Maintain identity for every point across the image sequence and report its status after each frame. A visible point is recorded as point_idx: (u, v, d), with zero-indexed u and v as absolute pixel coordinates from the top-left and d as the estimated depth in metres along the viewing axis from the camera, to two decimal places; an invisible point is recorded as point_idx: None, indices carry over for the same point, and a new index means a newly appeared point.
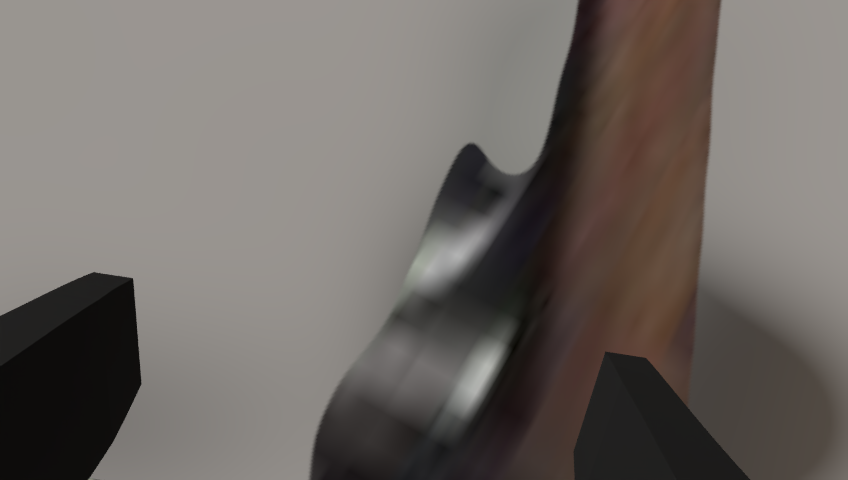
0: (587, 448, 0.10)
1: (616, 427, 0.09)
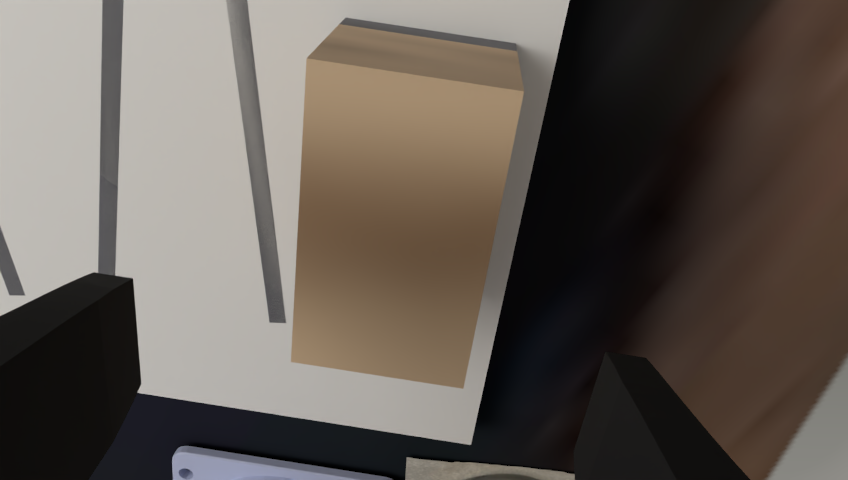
0: (587, 448, 0.10)
1: (616, 427, 0.09)
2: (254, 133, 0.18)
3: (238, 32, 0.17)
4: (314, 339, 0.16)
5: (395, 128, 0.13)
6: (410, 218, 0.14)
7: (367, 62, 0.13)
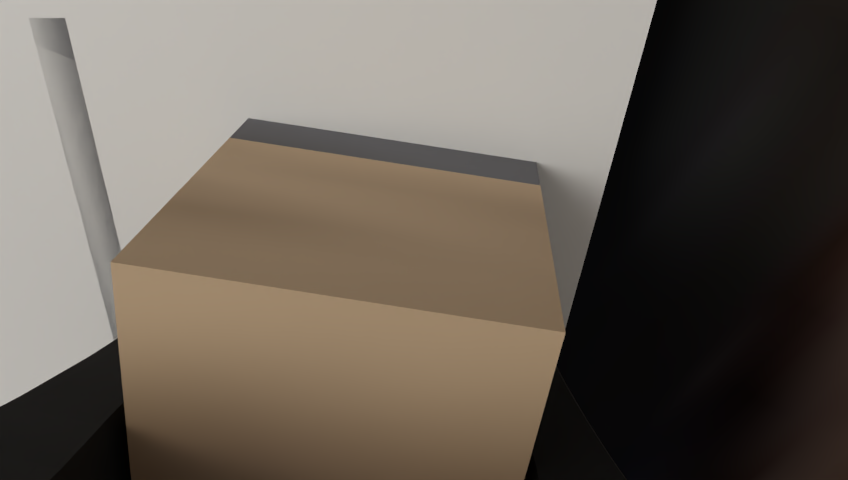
0: None
1: None
2: None
3: (73, 139, 0.10)
4: None
5: (304, 387, 0.07)
6: None
7: (243, 263, 0.06)
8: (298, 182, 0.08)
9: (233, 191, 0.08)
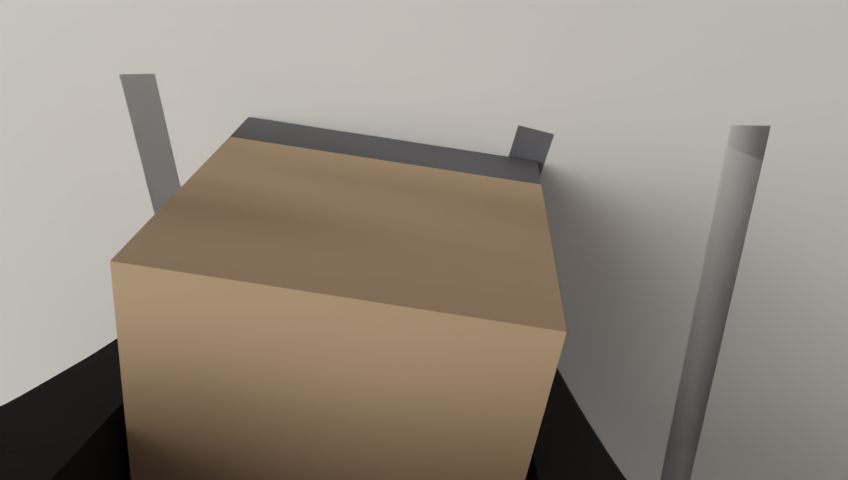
0: None
1: None
2: (698, 379, 0.11)
3: (722, 239, 0.10)
4: None
5: (306, 387, 0.07)
6: None
7: (243, 262, 0.06)
8: (298, 181, 0.08)
9: (233, 190, 0.08)
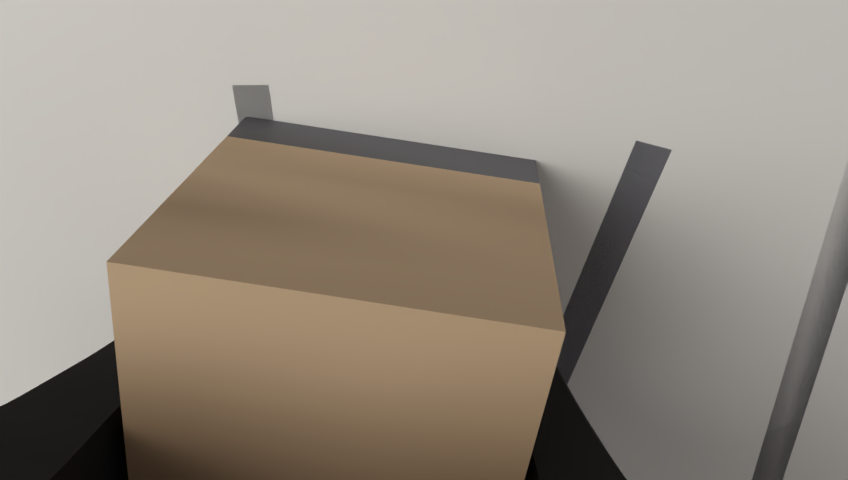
0: None
1: None
2: (795, 394, 0.11)
3: (832, 256, 0.10)
4: None
5: (303, 387, 0.07)
6: None
7: (241, 262, 0.06)
8: (296, 181, 0.08)
9: (230, 190, 0.08)
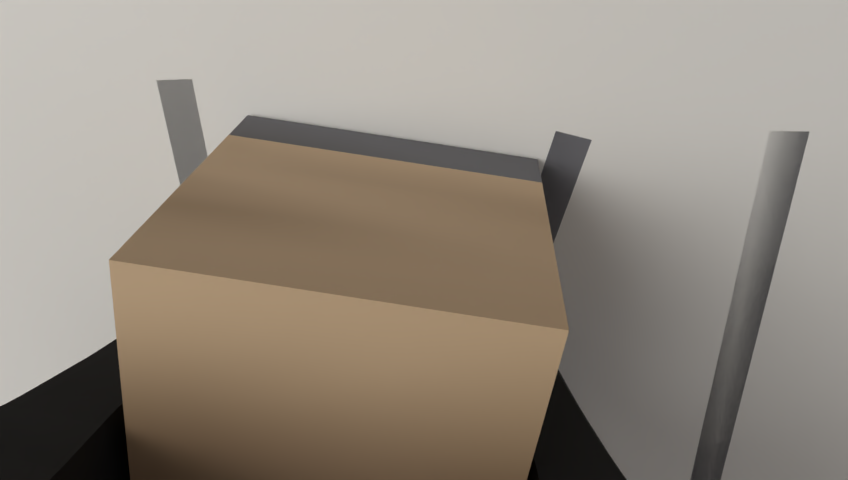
0: None
1: None
2: (729, 384, 0.11)
3: (757, 244, 0.10)
4: None
5: (306, 386, 0.07)
6: None
7: (243, 261, 0.06)
8: (298, 179, 0.08)
9: (233, 188, 0.08)
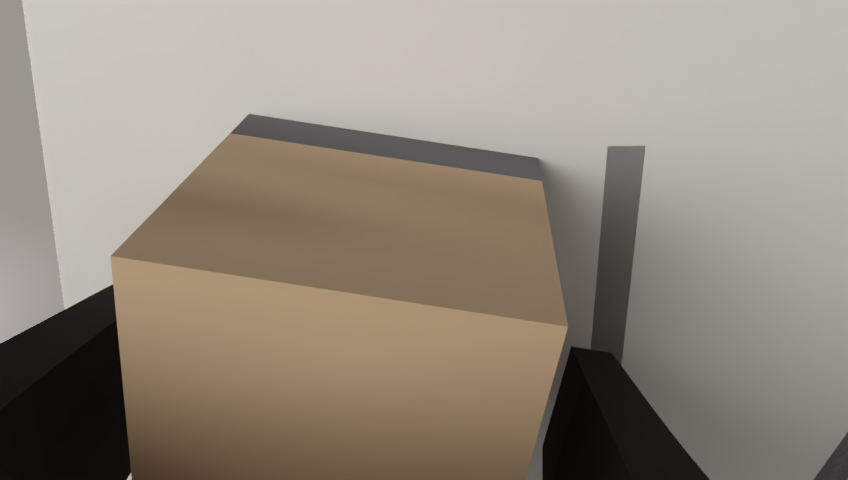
0: (553, 443, 0.10)
1: (578, 421, 0.09)
2: None
3: None
4: None
5: (306, 382, 0.07)
6: None
7: (243, 257, 0.06)
8: (299, 177, 0.08)
9: (234, 186, 0.08)
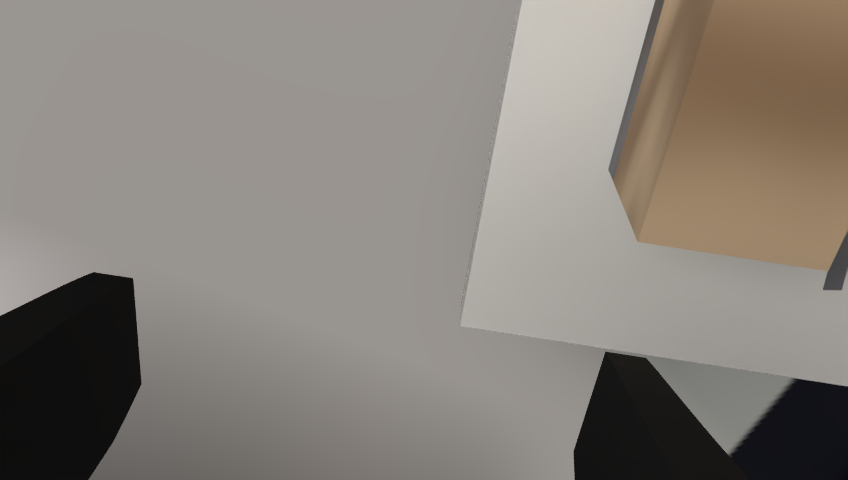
0: (587, 448, 0.10)
1: (616, 427, 0.09)
2: None
3: None
4: (672, 214, 0.14)
5: None
6: (825, 62, 0.13)
7: None
8: None
9: None
